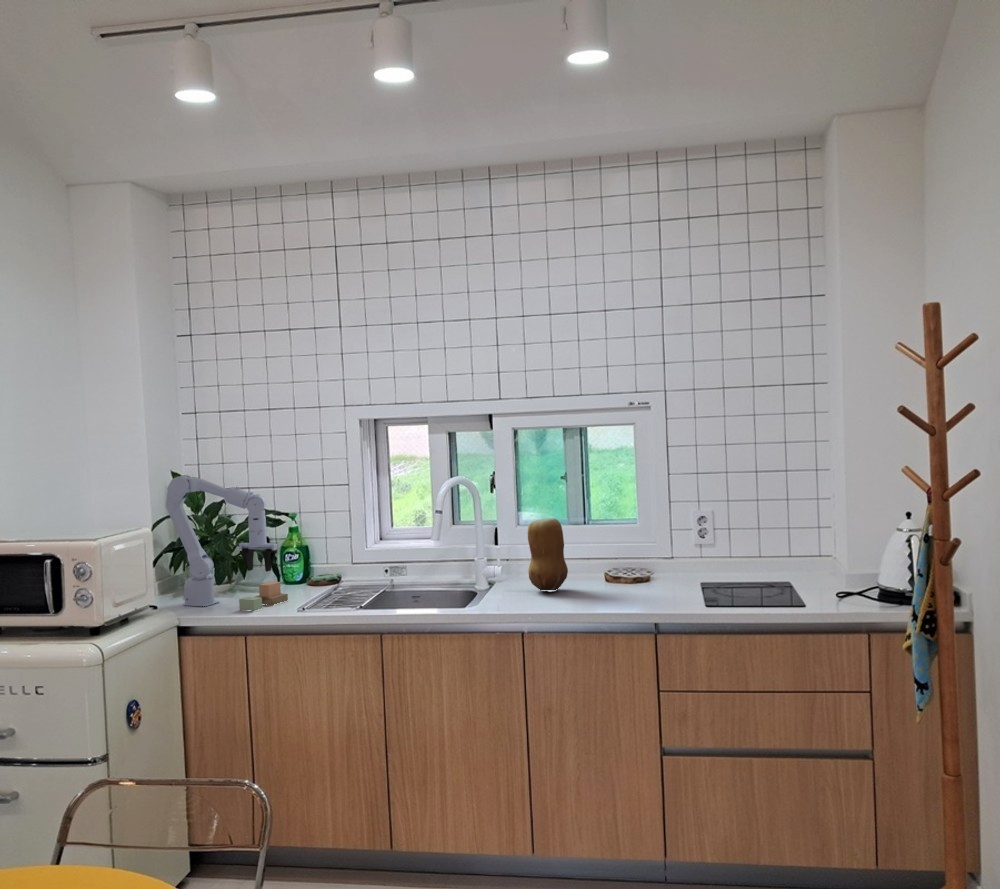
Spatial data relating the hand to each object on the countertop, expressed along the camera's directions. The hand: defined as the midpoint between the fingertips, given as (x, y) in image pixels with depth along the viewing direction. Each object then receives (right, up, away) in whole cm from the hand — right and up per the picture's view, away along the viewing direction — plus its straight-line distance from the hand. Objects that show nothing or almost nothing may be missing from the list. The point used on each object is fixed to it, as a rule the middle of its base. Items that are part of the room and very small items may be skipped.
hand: (259, 570), depth 324 cm
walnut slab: (+5, -11, -3) cm, 12 cm away
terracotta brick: (+5, -8, -3) cm, 10 cm away
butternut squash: (+98, -7, -1) cm, 99 cm away
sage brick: (+1, -11, -14) cm, 18 cm away
